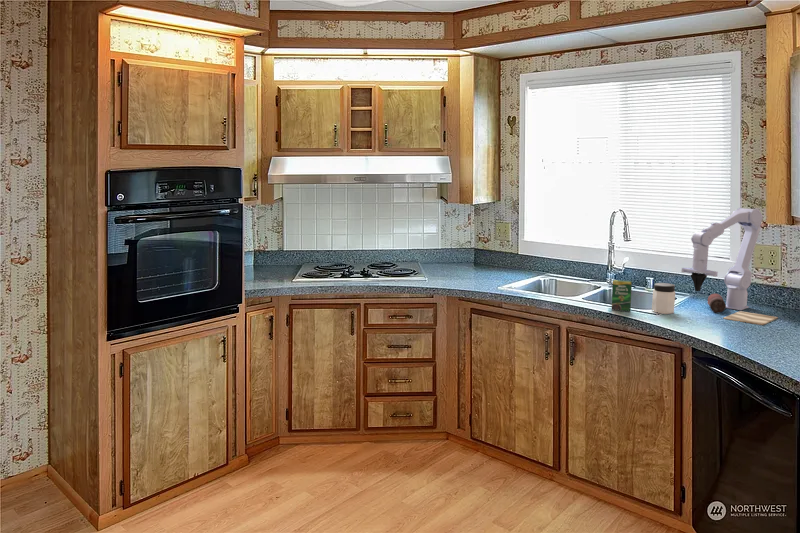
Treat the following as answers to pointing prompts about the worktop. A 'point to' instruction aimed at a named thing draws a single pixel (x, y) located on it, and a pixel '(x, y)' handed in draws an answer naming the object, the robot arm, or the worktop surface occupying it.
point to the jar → (663, 298)
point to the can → (716, 303)
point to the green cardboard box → (621, 295)
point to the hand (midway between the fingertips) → (697, 290)
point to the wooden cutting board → (750, 318)
